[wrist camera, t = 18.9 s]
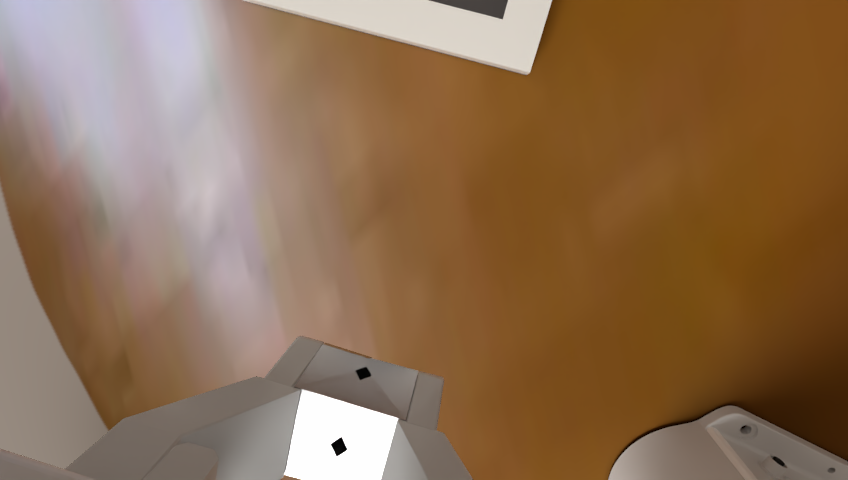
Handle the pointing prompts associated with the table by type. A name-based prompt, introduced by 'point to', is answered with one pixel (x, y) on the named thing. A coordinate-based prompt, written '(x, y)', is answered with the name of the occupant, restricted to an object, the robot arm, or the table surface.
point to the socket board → (440, 25)
